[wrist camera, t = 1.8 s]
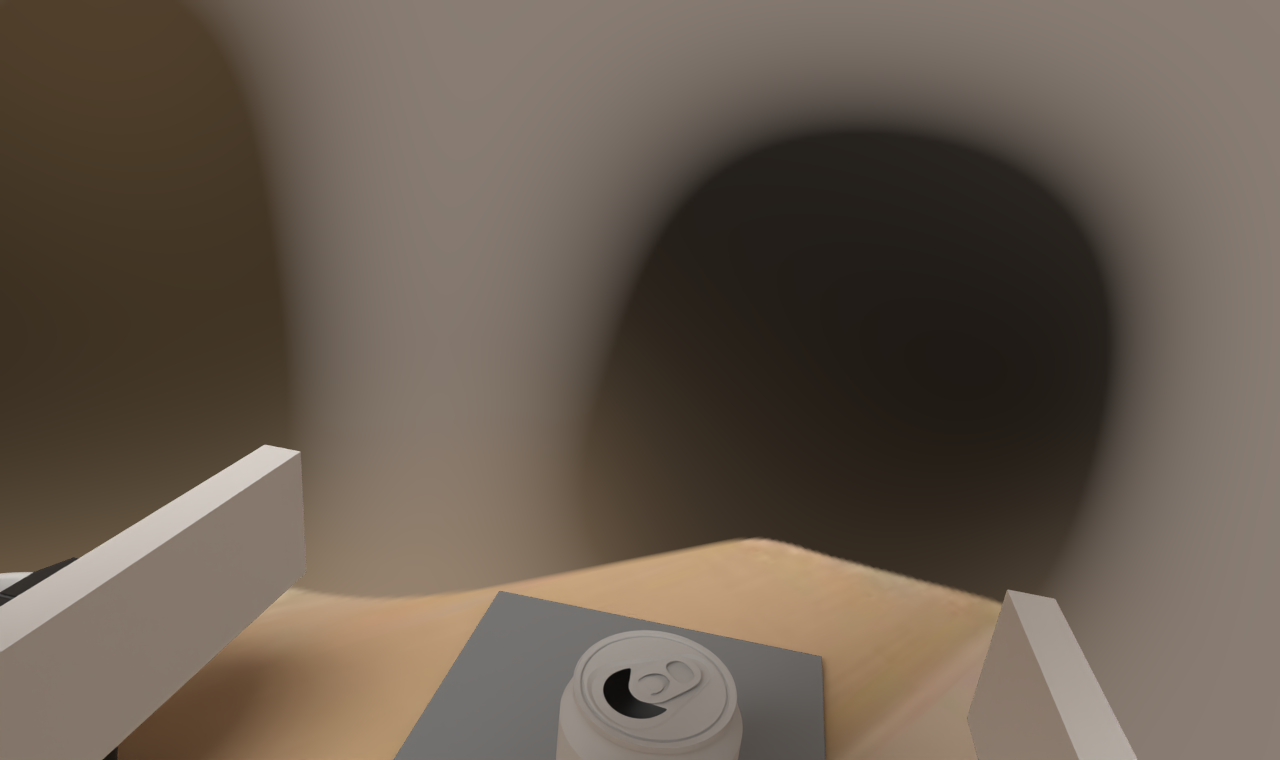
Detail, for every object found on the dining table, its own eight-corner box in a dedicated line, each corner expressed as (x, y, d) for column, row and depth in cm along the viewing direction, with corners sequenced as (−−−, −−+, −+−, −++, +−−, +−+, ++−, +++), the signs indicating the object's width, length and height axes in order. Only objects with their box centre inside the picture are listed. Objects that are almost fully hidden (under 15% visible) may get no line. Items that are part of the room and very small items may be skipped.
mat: (820, 664, 46) (821, 656, 46) (826, 881, 33) (829, 871, 33) (499, 598, 49) (499, 590, 49) (390, 774, 36) (390, 763, 36)
